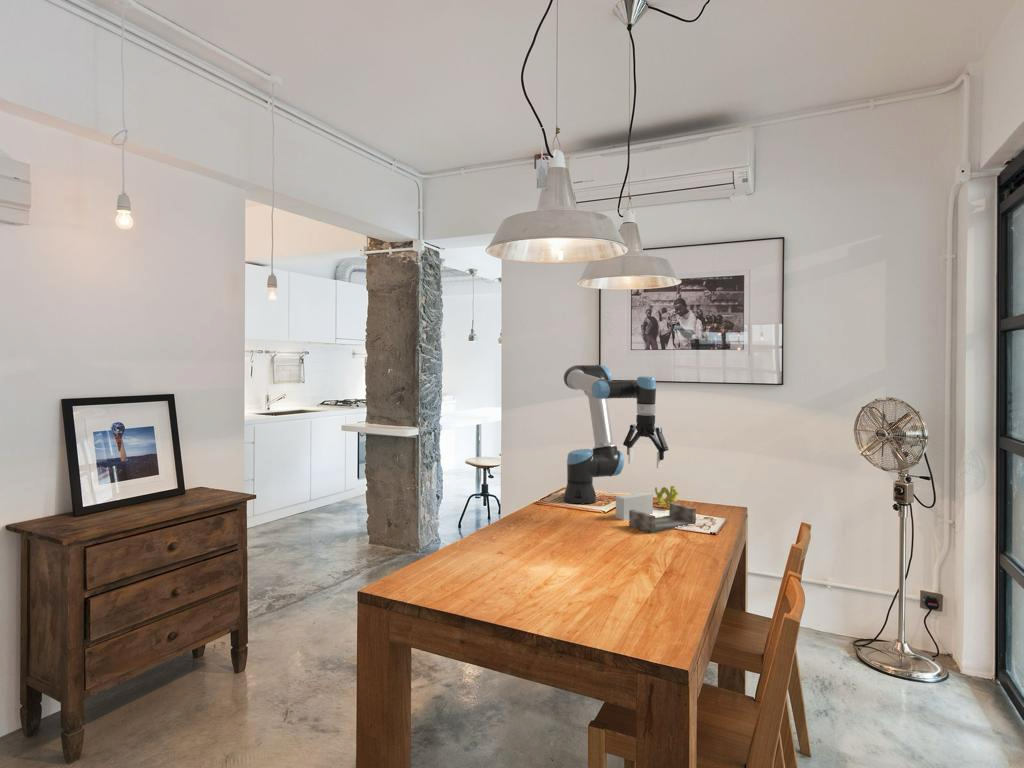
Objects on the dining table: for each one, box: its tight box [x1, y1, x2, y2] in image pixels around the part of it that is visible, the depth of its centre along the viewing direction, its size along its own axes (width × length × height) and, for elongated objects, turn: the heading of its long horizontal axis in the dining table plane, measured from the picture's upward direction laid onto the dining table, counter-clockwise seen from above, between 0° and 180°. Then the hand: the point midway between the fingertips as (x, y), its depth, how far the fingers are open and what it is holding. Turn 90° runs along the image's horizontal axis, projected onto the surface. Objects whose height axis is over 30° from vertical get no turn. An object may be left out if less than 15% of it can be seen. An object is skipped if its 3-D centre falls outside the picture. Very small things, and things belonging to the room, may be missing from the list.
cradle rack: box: [628, 502, 697, 534], centre depth 235 cm, size 12×24×6 cm, turn 122°
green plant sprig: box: [654, 485, 679, 510], centre depth 266 cm, size 18×5×10 cm, turn 19°
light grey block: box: [615, 491, 654, 521], centre depth 248 cm, size 5×16×9 cm, turn 121°
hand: (644, 465), depth 247 cm, fingers open, 13 cm apart
